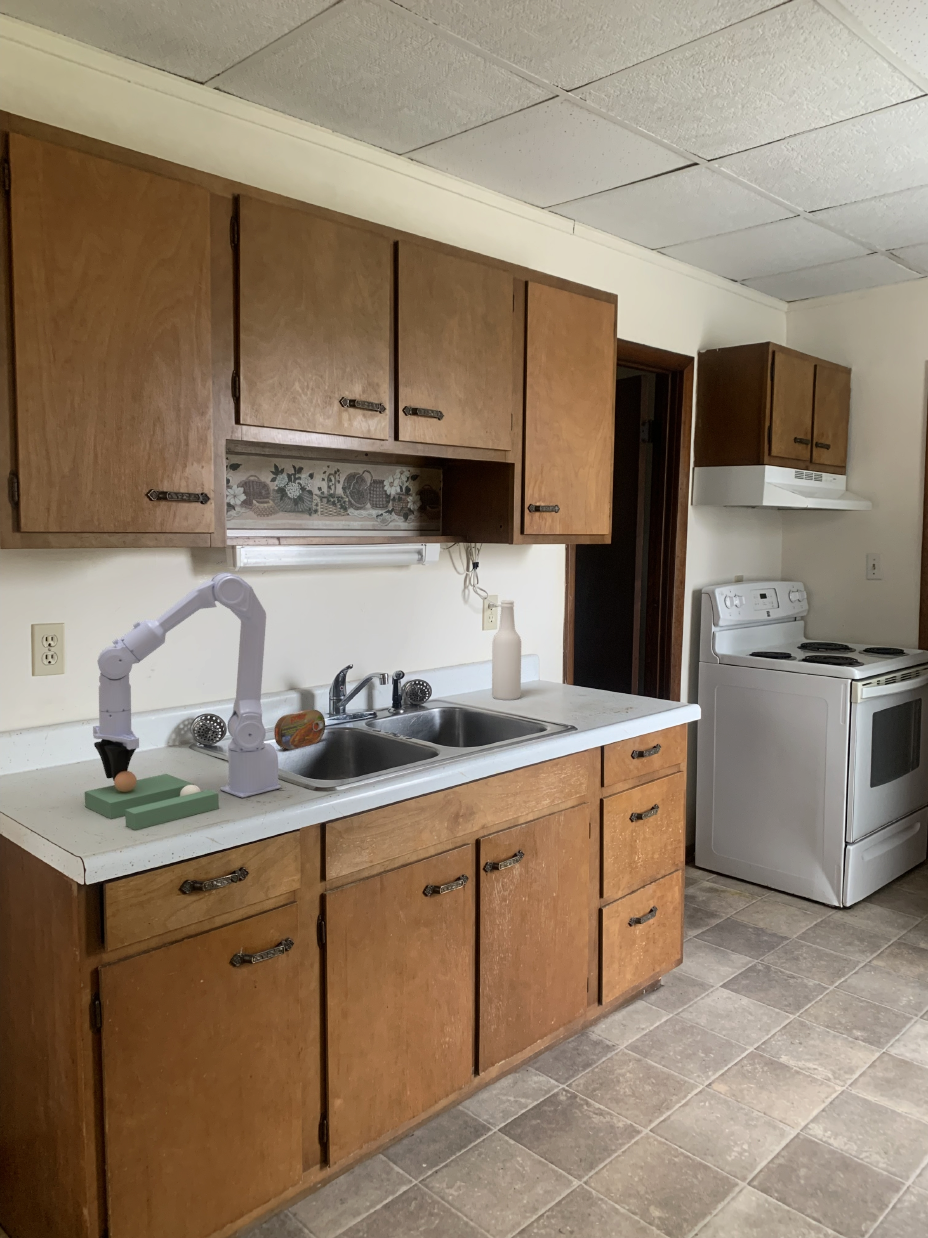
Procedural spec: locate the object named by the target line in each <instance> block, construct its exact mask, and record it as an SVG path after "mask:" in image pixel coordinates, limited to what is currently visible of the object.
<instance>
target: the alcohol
mask: <svg viewBox="0 0 928 1238" xmlns="http://www.w3.org/2000/svg"><path fill="white" fill-rule="evenodd" d="M514 604H515V602H514V600H511V599H509V600H507V599H505V600H501V601H500V608H501V609H500V620H499V628H498V630H497V632H496V633H495V635H494V636H493V638H492V651H491V653H492V655H491V657H492V659H491V660H492V663H491V669H492V670H491V675H492V676H491V695H492V697H493V698H494V700H499V701H514V700H516V701H517V700H519V699H520V696H521V688H522V686H521V684H522V680H521V678H522V640H521V636H520V635H519V634H518V632H517V630H516V625H515V610H514V607H515V605H514Z"/></svg>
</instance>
